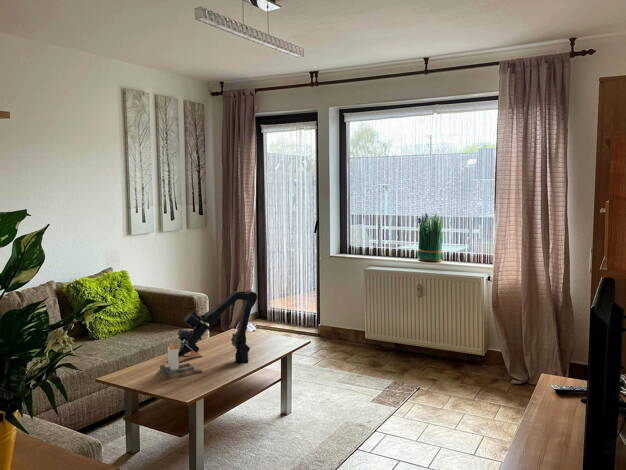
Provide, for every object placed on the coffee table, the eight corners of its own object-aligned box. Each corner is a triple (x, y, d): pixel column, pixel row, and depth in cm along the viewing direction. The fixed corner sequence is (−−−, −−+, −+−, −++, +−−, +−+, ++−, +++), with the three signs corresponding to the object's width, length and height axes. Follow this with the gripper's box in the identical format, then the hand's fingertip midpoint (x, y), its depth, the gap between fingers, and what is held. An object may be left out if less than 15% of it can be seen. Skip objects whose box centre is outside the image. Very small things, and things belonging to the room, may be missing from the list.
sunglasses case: (177, 364, 293) (173, 352, 295) (171, 368, 298) (167, 356, 299) (204, 356, 307) (200, 345, 309) (197, 360, 311) (193, 349, 313)
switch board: (195, 366, 290) (194, 358, 290) (202, 372, 280) (202, 364, 280) (157, 372, 280) (157, 364, 280) (163, 379, 270) (163, 371, 270)
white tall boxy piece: (176, 368, 281) (175, 341, 280) (178, 371, 277) (177, 344, 276) (168, 370, 279) (167, 342, 278) (171, 373, 275) (170, 345, 274)
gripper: (181, 319, 288) (161, 343, 283) (192, 327, 272) (171, 352, 267) (196, 332, 293) (176, 355, 288) (207, 340, 277) (187, 365, 272)
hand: (177, 356), depth 279 cm, fingers closed, pressing on white tall boxy piece
